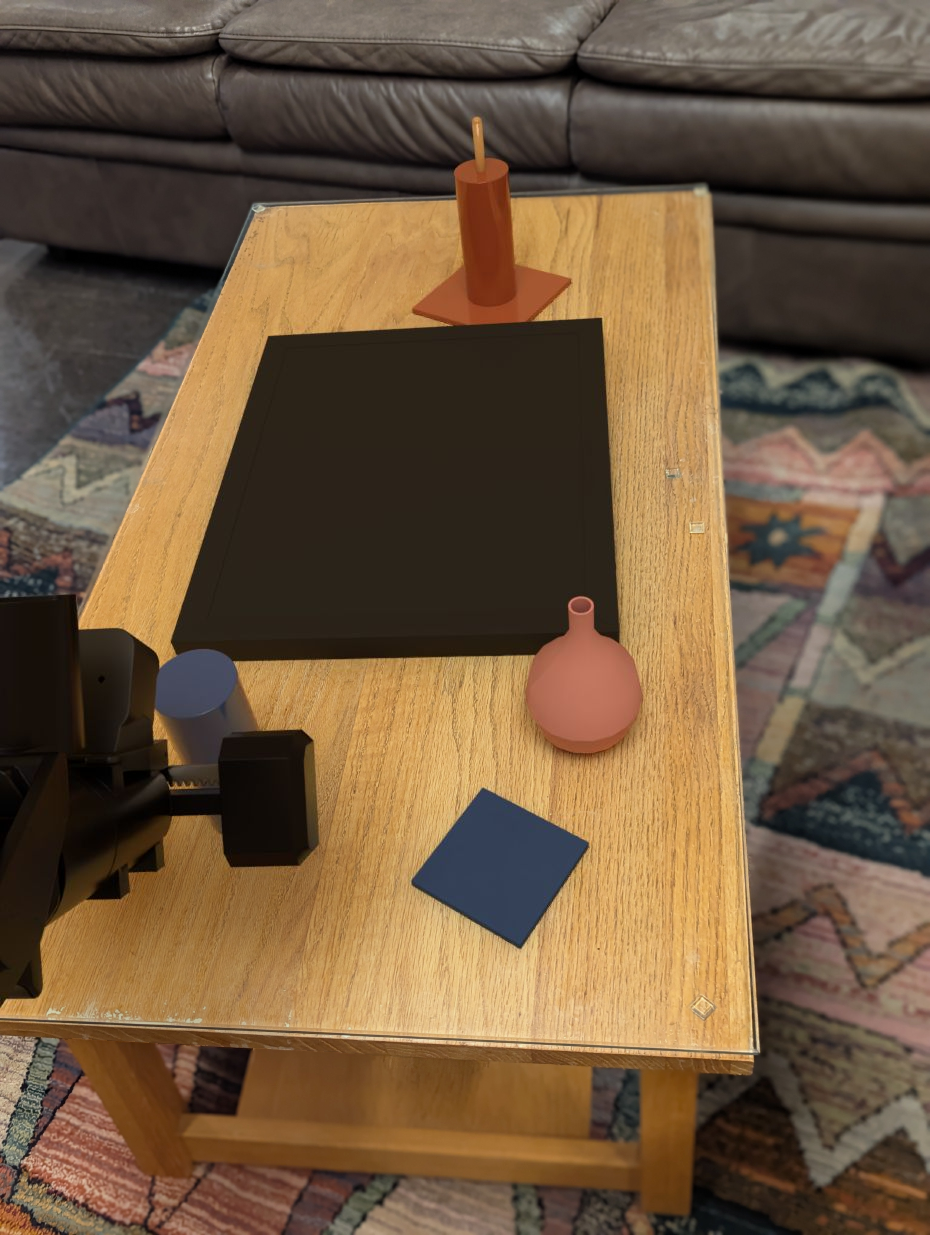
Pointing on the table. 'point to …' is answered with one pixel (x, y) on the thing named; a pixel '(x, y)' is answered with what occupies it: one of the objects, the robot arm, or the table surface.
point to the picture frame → (412, 497)
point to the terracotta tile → (524, 307)
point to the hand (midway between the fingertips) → (182, 769)
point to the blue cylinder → (202, 707)
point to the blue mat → (500, 866)
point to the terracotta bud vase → (583, 686)
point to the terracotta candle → (486, 226)
